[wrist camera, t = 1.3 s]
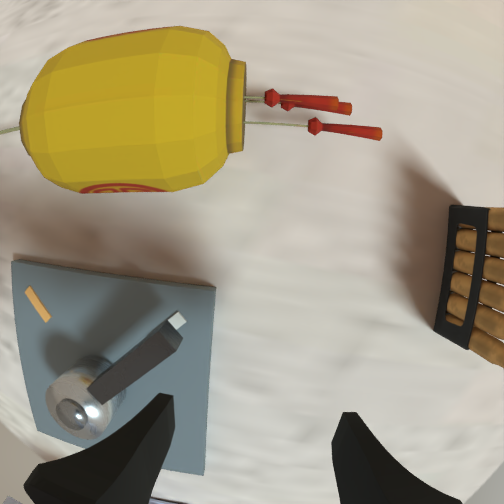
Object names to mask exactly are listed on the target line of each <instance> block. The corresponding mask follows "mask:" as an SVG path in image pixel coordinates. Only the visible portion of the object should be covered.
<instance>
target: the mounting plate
mask: <svg viewBox="0 0 504 504" xmlns="http://www.w3.org/2000/svg"><path fill="white" fill-rule="evenodd" d="M11 269H12V291H13V304H14V315H15V324H16V332H17V340H18V347H19V353H20V359H21V364H22V370H23V375H24V380H25V384H26V389H27V393H28V398H29V402H30V406H31V409H32V413H33V417H34V420H35V424H36V427H37V430H38V431H40V432H42V433H45V434H47V435H50V436H52V437H55V438H57V439H60V440H62V441H65V442H68V443H71V444H73V445H76V446H79V447H82V448H85V449H87V448H89V447H91V446H92V445H94V444H96V443H98V442H100V441H101V440H103V439H105V438H106V437H108V436H109V435H111V434H112V433H114V432H115V431H117V430H118V429H119V428H121V427H122V426H123V425H125V424H126V423H127V422H128V421H130V420H131V419H132V418H133V417H134V416H135V415H136V414H138V413H139V412H140V411H141V410H142V409H143V408H144V407H145V406H146V405H147V404H148V403H149V402H150V401H151V400H152V399H153V398H154V397H155V396H156V395H157V394H158V393H164V394H169V395H173V396H174V413H175V431H174V435H173V438H172V442H171V446H170V448H169V451H168V453H167V456H166V458H165V460H164V463H163V465H162V468H161V469H166V470H171V471H177V472H183V473H189V474H195V475H202V476H203V475H204V470H205V452H206V430H207V411H208V393H209V376H210V361H211V346H212V333H213V319H214V307H215V294H216V287H209V286H201V285H192V284H184V283H176V282H167V281H160V280H152V279H144V278H137V277H129V276H122V275H115V274H108V273H101V272H94V271H87V270H81V269H74V268H68V267H62V266H55V265H49V264H43V263H37V262H31V261H25V260H20V259H19V260H15V261H11ZM166 320H168V321H169V322H170V323H171V325H172V326H173V327H174V328H175V329H176V330H177V331H178V332H179V334H180V335H181V336H182V337H183V340H182V342H181V344H180V346H179V347H178V349H177V351H176V352H175V353H173V354H172V355H171V356H169V357H168V358H167V359H165V360H164V361H162V362H161V363H160V364H158V365H157V366H156V367H154V368H153V369H152V370H150V371H149V372H148V373H146V374H145V375H143V376H142V377H141V378H139V379H138V380H137V381H135V382H134V383H132V384H131V385H130V386H128V387H127V388H126V397H125V399H124V401H123V403H122V404H121V406H120V407H119V409H118V410H117V412H116V413H115V415H114V417H113V418H112V420H111V421H110V423H109V424H108V426H107V427H106V429H105V430H104V432H103V433H102V435H101V436H100V437H98V438H96V439H92V440H86V439H81V438H78V437H75V436H73V435H71V434H70V433H68V432H67V431H65V430H64V429H63V428H62V427H61V426H60V425H59V424H58V423H57V422H56V421H55V420H54V419H53V417H52V416H51V414H50V412H49V410H48V408H47V405H46V400H45V394H46V390H47V388H48V387H49V386H50V385H51V384H52V383H53V382H54V381H55V380H56V379H58V378H59V377H60V376H61V375H62V374H63V373H64V372H65V371H67V370H68V369H69V368H70V367H71V366H72V365H73V364H74V363H76V362H77V361H78V360H79V359H80V358H82V357H85V356H96V357H99V358H102V359H104V360H106V361H107V362H109V363H110V364H111V365H112V364H113V363H114V362H116V361H117V360H118V359H119V358H121V357H122V356H123V355H124V354H126V353H127V352H128V351H129V350H131V349H132V348H133V347H134V346H135V345H137V344H138V343H139V342H140V341H142V340H143V339H144V338H145V337H147V336H148V335H149V334H150V333H152V332H153V331H154V330H155V329H157V328H158V327H159V326H160V325H162V324H163V323H164V322H165V321H166Z"/></svg>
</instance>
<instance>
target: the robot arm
mask: <svg viewBox="0 0 504 504" xmlns="http://www.w3.org/2000/svg"><path fill="white" fill-rule="evenodd" d="M174 431H175V413H174V396H173V395H169V394H164V393H158V394H157V395H156V396H155V397H154V398H153V399H152V400H151V401H150V402H149V403H148V404H147V405H146V406H145V407H144V408H143V409H142V410H141V411H140V412H139V413H138V414H136V415H135V416H134V417H133V418H132V419H131V420H130V421H128V422H127V423H126V424H125V425H123V426H122V427H121V428H119V429H118V430H117V431H115V432H114V433H112V434H111V435H109V436H108V437H106V438H105V439H103V440H101V441H100V442H98V443H96V444H94V445H92V446H91V447H89V448H87V449H85V450H82V451H80V452H78V453H75V454H72V455H70V456H67V457H64V458H61V459H58V460H54V461H50V462H46V463H42V464H38V465H37V467H36V468H35V469H34V470H33V471H32V473H31V474H30V476H29V478H28V479H27V480H26V482H25V483H24V489H25V491H26V493H27V494H28V495H29V497H30V498H31V499H32V501H33V502H34V503H35V504H176V503H170V502H165V501H160V500H155V499H151V498H150V497H151V493H152V490H153V487H154V484H155V482H156V479H157V477H158V475H159V472H160V470H161V468H162V465H163V463H164V460H165V458H166V456H167V453H168V451H169V448H170V446H171V442H172V438H173V435H174ZM331 443H332V461H333V467H334V472H335V477H336V482H337V487H338V492H339V497H340V503H341V504H462V502H461V500H458V499H456V498H453V497H451V496H449V495H446V494H444V493H442V492H440V491H438V490H436V489H434V488H433V487H431V486H429V485H428V484H426V483H424V482H423V481H421V480H420V479H419V478H417V477H416V476H414V475H413V474H412V473H410V472H409V471H408V470H407V469H406V468H404V467H403V466H402V465H401V464H400V463H399V462H398V461H397V460H396V459H395V458H394V457H393V456H392V455H391V454H390V453H389V452H388V451H387V450H386V449H385V448H384V447H383V446H382V444H381V443H380V442H379V441H378V440H377V438H376V437H375V436H374V435H373V433H372V432H371V431H370V429H369V428H368V427H367V426H366V424H365V423H364V422H363V420H362V419H361V418H360V416H359V415H358V414H357V412H343V414H342V416H341V419H340V422H339V424H338V427H337V430H336V432H335V435H334V437H333V440H332V442H331ZM3 504H21V503H20V502H18V501H17V500H15V499H13V498H12V497H10V496H7V498H6V499H5V501H4V502H3Z"/></svg>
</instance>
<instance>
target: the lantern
mask: <svg viewBox="0 0 504 504" xmlns="http://www.w3.org/2000/svg"><path fill="white" fill-rule="evenodd" d="M246 98H252V99H265V101H256V100H246ZM246 102H259V103H265V104H267V105H269V106H270V107H273V106H275V105H276V104H277V103H278V104H281V108H283V109H284V110H286V111H289V110H290V109H292V108H293V107H301V108H308V109H315V110H321V111H327V112H333V113H339V114H344V115H351V113H352V105H351V103H346V102H339V99H338V97H335V96H317V95H289V94H288V95H280V94H278V93H277V92H276V91H275V90H274V89H270V90H268V91H266V92H265V97H253V96H246V62H243V61H239V60H234V59H231V57H230V55H229V53H228V51H227V49H226V47H225V45H224V44H223V43H222V42H220V41H219V40H218V39H217V38H216V37H215V36H214V35H212V34H211V33H210V32H209V31H204V30H199V29H194V28H189V27H183V26H173V27H163V28H155V29H147V30H140V31H133V32H127V33H121V34H115V35H110V36H105V37H100V38H96V39H91V40H87V41H84V42H81V43H79V44H76V45H73V46H71V47H68V48H67V49H65V50H63V51H62V52H60V53H58V54H57V55H55V56H54V57H52V58H51V59H49V60H48V61H47V62H46V64H45V65H44V67H43V68H42V70H41V71H40V73H39V74H38V76H37V77H36V79H35V81H34V82H33V84H32V86H31V88H30V90H29V92H28V94H27V98H26V100H25V102H24V103H23V105H22V110H21V115H20V121H19V127H14V128H10V129H6V130H2V131H0V134H4V133H8V132H13V131H17V130H20V134H21V141H22V143H23V145H24V147H25V149H26V151H27V153H28V155H30V156H31V157H32V159H33V161H34V163H35V165H36V167H37V168H38V169H39V171H40V172H41V173H42V175H43V176H44V178H46V179H48V180H50V181H51V182H53V183H55V184H56V185H58V186H60V187H62V188H65V189H69V190H72V191H75V192H78V193H82V194H83V193H114V192H175V191H178V190H182V189H186V188H189V187H193V186H197V185H201V184H204V183H205V182H206V181H207V180H208V179H210V178H211V177H212V176H213V175H214V174H215V173H216V172H217V171H218V170H219V169H220V168H222V167H223V165H224V163H225V161H226V159H227V157H228V155H229V153H234V152H240V151H243V147H244V133H245V124H269V125H286V126H300V127H308V132H310V133H312V134H313V135H316V134H318V133H319V132H320V131H328V132H334V133H340V134H346V135H352V136H357V137H363V138H368V139H373V140H378V141H380V140H381V138H382V129H381V128H379V127H369V126H357V125H343V124H326V123H321V122H320V121H319V120H318V119H317V118H316V117H315V118H312V119H310V120H308V125H298V124H285V123H269V122H246V121H245V112H246Z"/></svg>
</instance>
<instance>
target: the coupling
mask: <svg viewBox="0 0 504 504" xmlns="http://www.w3.org/2000/svg"><path fill="white" fill-rule="evenodd" d="M182 340H183V337H182V336H181V335H180V334H179V332H178V331H177V330H176V329H175V328H174V327H173V326H172V325H171V323H170V322H169V321H168V320H166V321H165V322H164V323H163V324H162V325H160V326H159V327H158V328H157V329H155V330H154V331H153V332H152V333H150V334H149V335H148V336H147V337H145V338H144V339H143V340H142V341H140V342H139V343H138V344H137V345H135V346H134V347H133V348H132V349H131V350H129V351H128V352H127V353H126V354H124V355H123V356H122V357H121V358H119V359H118V360H117V361H116V362H114V363H113V364H112V365H111V364H110V363H109V362H107V361H106V360H104V359H102V358H99V357H96V356H85V357H82V358H80V359H79V360H78V361H77V362H76V363H74V364H73V365H72V366H71V367H70V368H69V369H68V370H67V371H65V372H64V373H63V374H62V375H61V376H60V377H59V378H58V379H56V380H55V381H54V382H53V383H52V384H51V385H50V386H49V387H48V388H47V390H46V394H45V400H46V405H47V408H48V410H49V412H50V414H51V416H52V417H53V419H54V420H55V421H56V422H57V423H58V424H59V425H60V426H61V427H62V428H63V429H64V430H65V431H67V432H68V433H70V434H71V435H73V436H75V437H78V438H81V439H86V440H92V439H96V438H98V437H100V436H101V435H102V433H103V432H104V430H105V429H106V427H107V426H108V424H109V423H110V421H111V420H112V418H113V417H114V415H115V413H116V412H117V410H118V409H119V407H120V406H121V404H122V403H123V401H124V399H125V397H126V388H127V387H128V386H130V385H131V384H132V383H134V382H135V381H137V380H138V379H139V378H141V377H142V376H143V375H145V374H146V373H148V372H149V371H150V370H152V369H153V368H154V367H156V366H157V365H158V364H160V363H161V362H162V361H164V360H165V359H167V358H168V357H169V356H171V355H172V354H173V353H175V352H176V351H177V349H178V347H179V346H180V344H181V342H182Z"/></svg>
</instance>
